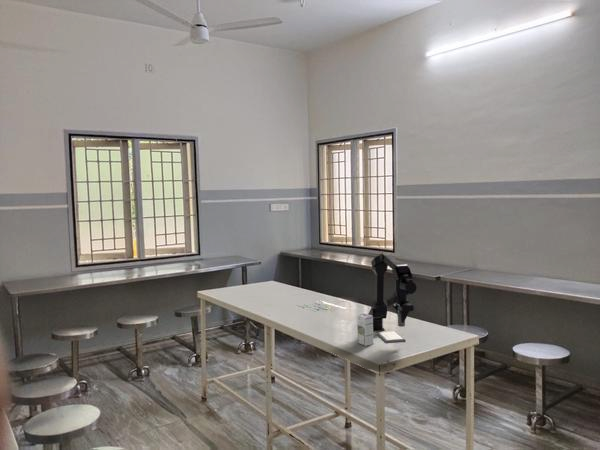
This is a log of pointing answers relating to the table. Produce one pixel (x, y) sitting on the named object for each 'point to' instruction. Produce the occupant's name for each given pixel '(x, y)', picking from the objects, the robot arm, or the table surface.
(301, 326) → the table surface
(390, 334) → the writing board
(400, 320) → the marker
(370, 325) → the syrup box
